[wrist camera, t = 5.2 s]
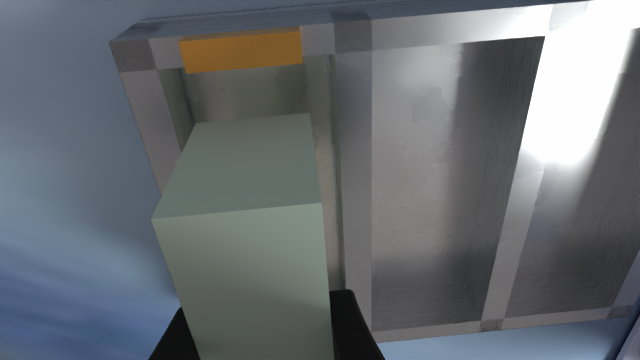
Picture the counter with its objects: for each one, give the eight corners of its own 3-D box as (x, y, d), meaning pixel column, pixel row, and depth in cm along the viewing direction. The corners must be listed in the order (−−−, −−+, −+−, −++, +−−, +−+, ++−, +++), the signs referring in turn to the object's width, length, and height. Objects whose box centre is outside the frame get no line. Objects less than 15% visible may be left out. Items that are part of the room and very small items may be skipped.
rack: (710, -29, 13) (827, -14, 10) (588, 271, 21) (637, 327, 18) (141, 19, 13) (99, 48, 10) (224, 308, 20) (214, 372, 17)
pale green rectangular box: (309, 112, 12) (321, 202, 8) (329, 341, 17) (342, 462, 13) (195, 123, 11) (150, 219, 8) (251, 349, 17) (241, 474, 13)
